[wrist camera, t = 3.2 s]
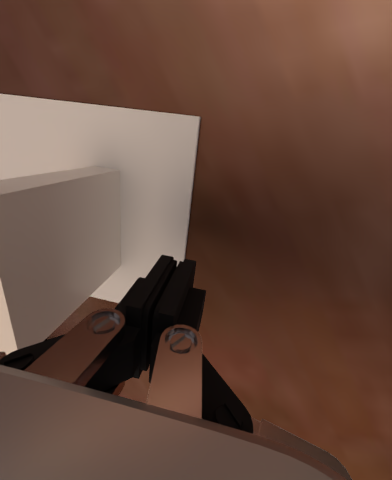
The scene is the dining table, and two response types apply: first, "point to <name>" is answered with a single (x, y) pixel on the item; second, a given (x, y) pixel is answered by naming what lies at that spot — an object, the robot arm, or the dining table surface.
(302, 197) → the dining table surface
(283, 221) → the dining table surface
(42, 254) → the tile
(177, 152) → the mat
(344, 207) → the dining table surface
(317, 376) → the dining table surface
